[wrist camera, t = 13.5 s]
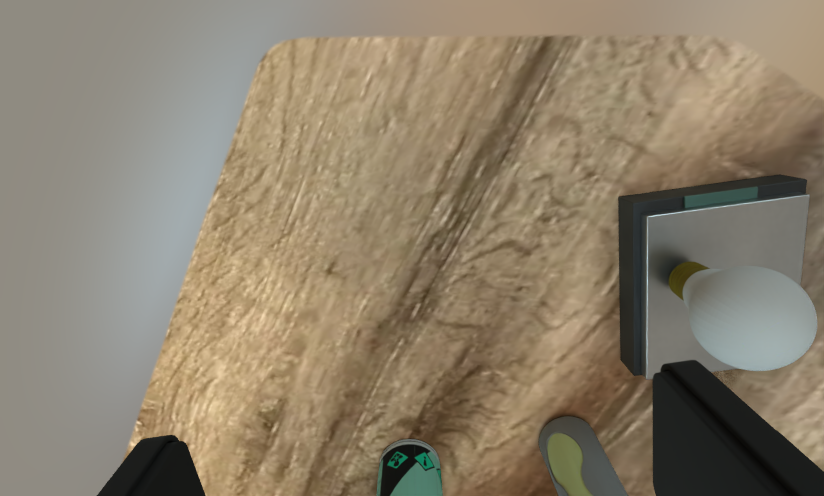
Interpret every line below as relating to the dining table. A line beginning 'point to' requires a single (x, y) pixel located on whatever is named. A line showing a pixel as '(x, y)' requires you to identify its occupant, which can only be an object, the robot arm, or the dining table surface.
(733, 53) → the dining table surface
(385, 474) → the spray can
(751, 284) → the light bulb
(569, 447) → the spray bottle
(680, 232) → the scale
